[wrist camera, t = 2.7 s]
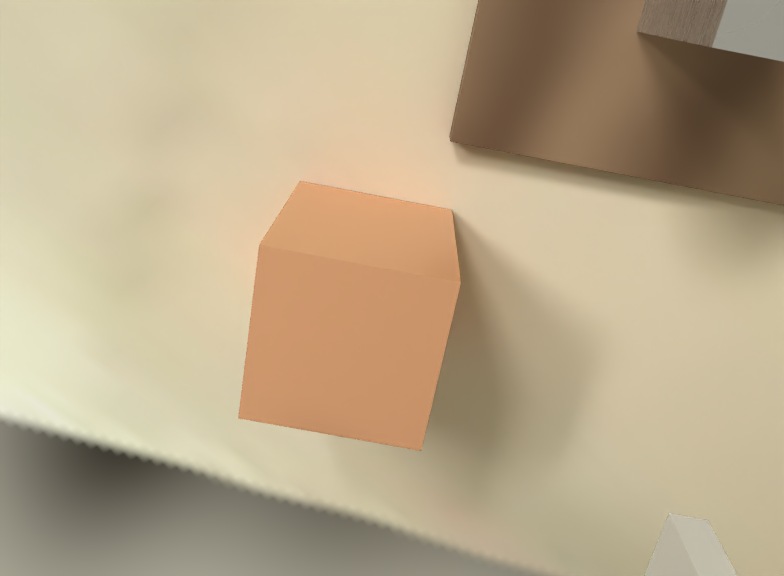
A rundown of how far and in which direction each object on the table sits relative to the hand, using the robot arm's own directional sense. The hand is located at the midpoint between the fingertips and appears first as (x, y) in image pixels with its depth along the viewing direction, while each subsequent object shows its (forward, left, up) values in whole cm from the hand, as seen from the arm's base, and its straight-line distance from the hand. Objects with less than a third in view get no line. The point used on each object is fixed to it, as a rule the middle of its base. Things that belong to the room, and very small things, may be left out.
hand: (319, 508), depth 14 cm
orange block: (0, 0, -13) cm, 13 cm away
